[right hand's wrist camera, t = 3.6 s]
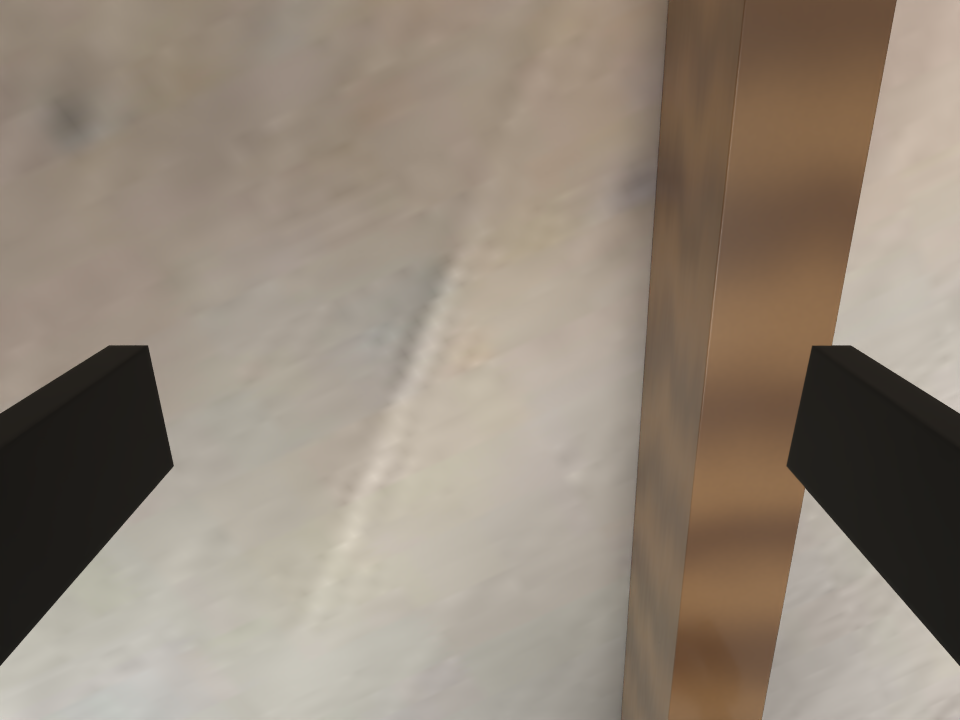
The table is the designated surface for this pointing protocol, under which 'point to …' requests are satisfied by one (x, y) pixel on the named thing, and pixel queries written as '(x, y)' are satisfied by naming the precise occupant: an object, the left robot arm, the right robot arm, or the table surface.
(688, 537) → the bar
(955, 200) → the table surface
